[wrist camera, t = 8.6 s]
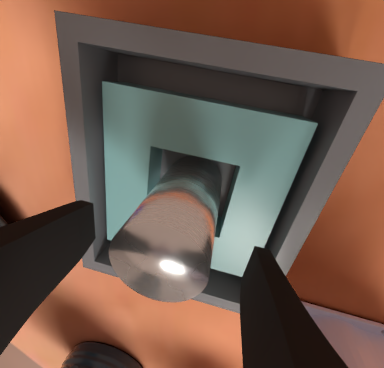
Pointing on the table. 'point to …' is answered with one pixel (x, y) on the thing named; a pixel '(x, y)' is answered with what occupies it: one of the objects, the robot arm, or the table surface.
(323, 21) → the table surface
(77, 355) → the canister
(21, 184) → the table surface
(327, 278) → the table surface
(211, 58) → the tray
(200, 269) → the peg
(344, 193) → the table surface
